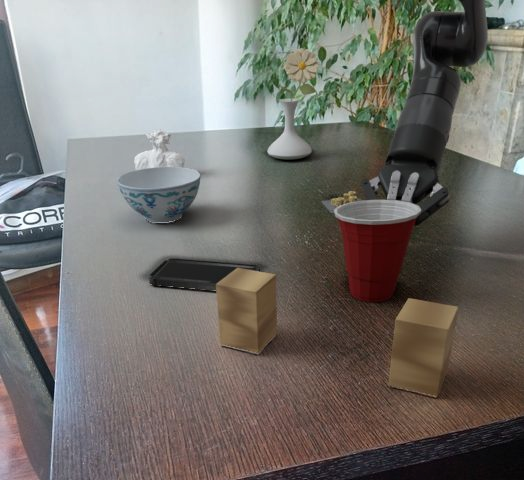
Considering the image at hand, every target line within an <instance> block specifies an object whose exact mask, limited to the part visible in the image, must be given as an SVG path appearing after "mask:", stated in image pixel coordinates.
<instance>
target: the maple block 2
mask: <svg viewBox="0 0 524 480" xmlns="http://www.w3.org/2000/svg"><path fill="white" fill-rule="evenodd" d="M458 312H459V306H456V305H450V304H445V303H439V302H434V301H428V300H422V299H416V298H411V297H409V298H407V300H406V302H405V303H404V305H403V307H402V308H401V310H400V311H399V313H398V315H397V316H396V318H395V321H394V330H393V338H392V339H393V340H392V349H391V358H390V367H389V376H388V385H393V386H397V387H402V388H406V389H410V390H414V391H418V392H422V393H426V394H431V395H435V396H438V397H439V395H440V393H441V390H442V388H443V385H444V383H443V382H445V380H446V378H445V376H446V377H447V375H448V372H447V371H449V365H450V360H451V359H450V358H451V354H452V348H453V343H454V336H455V331H456V330H455V329H456V325H457V318H458ZM446 374H447V375H446ZM444 379H445V380H444ZM442 384H443V385H442ZM441 387H442V388H441ZM440 389H441V390H440ZM439 392H440V393H439ZM438 394H439V395H438Z"/></svg>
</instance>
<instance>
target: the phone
mask: <svg viewBox="0 0 524 480" xmlns="http://www.w3.org/2000/svg"><path fill="white" fill-rule="evenodd" d="M236 268H242V269H248V270H253V271H259V272H261V266H260V265H258V264H249V263H235V262H224V261H213V260H199V259H189V258H178V257H177V258H175V257H171V258H165V260H163V261H162V262H161V263H160V264H159V265H158V266H157V267H156V268H155V269H153V271H151V273H149V274H148V281H149V285H150V284H152V285H161V286H173V287H184V288H195V289H205V290H216V284H217V283H218V282H219V281H221V280H222V279H223V278H225V277H226V276H227V275H229V274H230V273H231V272H233V271H234V270H235V269H236ZM152 285H151V286H152Z"/></svg>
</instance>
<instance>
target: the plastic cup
mask: <svg viewBox="0 0 524 480" xmlns="http://www.w3.org/2000/svg"><path fill="white" fill-rule="evenodd" d="M420 213H421V209H420V207H419V204H416V205H415V204H413V203H410V202H404V201H398V200H387V199H378V200H367V199H366V200H365V199H364V200H362V201H357V202H351V203H347V204H344V205H340V206H339V207H337V208H336V209H334V213H333V214H334V217H335V218H336V219H337V221H338V225H339V228H340V232H341V236H342V242H343V243H342V244H343V250H344V258H345V268H346V272H347V276H348V286H349V288H348V289H349V291H350V295H351V296H352V297H353V299H356V300H358V301H361V302H367V303H379V302H380V303H381V302H386V301H389V300H390V299H391V297H393V295H394V292H395V291H396V287H397V283H398V280H399V276H400V274H401V271H402V268H403V265H404V261H405V257H406V253H407V250H408V247H409V242H410V240H411V235H413V230H414V227H415V221H416V219H417V217H418V215H419V214H420Z"/></svg>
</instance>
